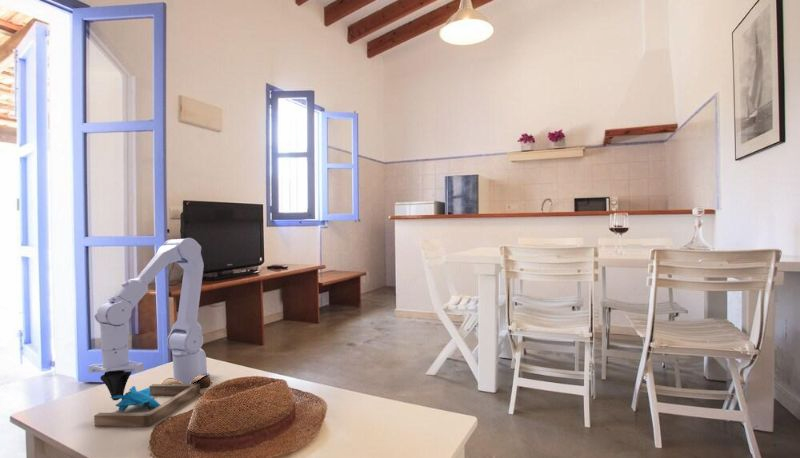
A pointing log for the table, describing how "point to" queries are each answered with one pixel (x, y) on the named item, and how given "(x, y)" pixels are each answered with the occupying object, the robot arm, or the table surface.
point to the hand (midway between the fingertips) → (117, 398)
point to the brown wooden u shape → (147, 419)
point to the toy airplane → (136, 399)
